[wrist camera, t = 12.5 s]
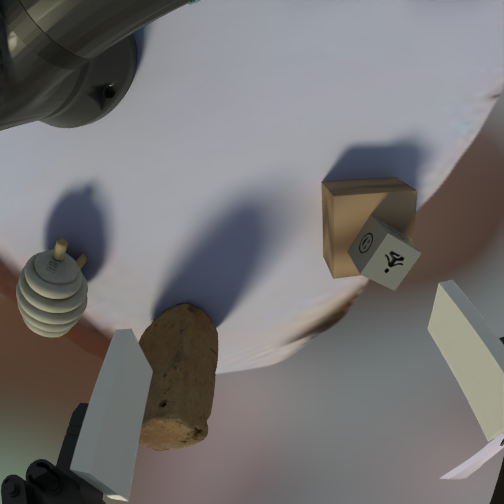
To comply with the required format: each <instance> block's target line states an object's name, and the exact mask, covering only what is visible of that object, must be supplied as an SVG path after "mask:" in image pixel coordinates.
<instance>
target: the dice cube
mask: <svg viewBox="0 0 504 504" xmlns="http://www.w3.org/2000/svg"><path fill="white" fill-rule="evenodd" d="M347 252H348V254H349V256H350V257H351V259H352V261H353V263H354V264H355V266H356V268H357V270H358V271H359V273H360V274H361V275H363V276H365V277H367V278H369V279H371V280H374V281H376V282H377V283H380V284H382V285H384V286H386V287H388V288H390V289H392V290H394V291H395V289H396V288H397V287H398V285H399V284H400V282H401V281H402V280H403V279H404V277H405V276H406V275H407V273H408V272H409V270H410V269H411V268H412V266H413V265H414V263H415V262H416V260H417V259H418V258H419V256H420V254H421V252H420V251H419V250H418V249H417V248H416V247H415V246H414V245H413V244H412V243H411V242H410V241H409V239H408V238H407V237H406V236H405V235H404V234H403V233H401V232H400V231H398V230H396V229H395V228H393V227H391V226H390V225H388V224H386V223H385V222H383V221H381V220H380V219H378V218H376V217H374V216H373V215H371V214H370V216H369V218H368V219H367V221H366V222H365V224H364V226H363V227H362V229H361V230H360V232H359V234H358V235H357V237H356V238H355V240H354V241H353V243H352V244H351V246H350V247H349V249H348V251H347Z"/></svg>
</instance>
